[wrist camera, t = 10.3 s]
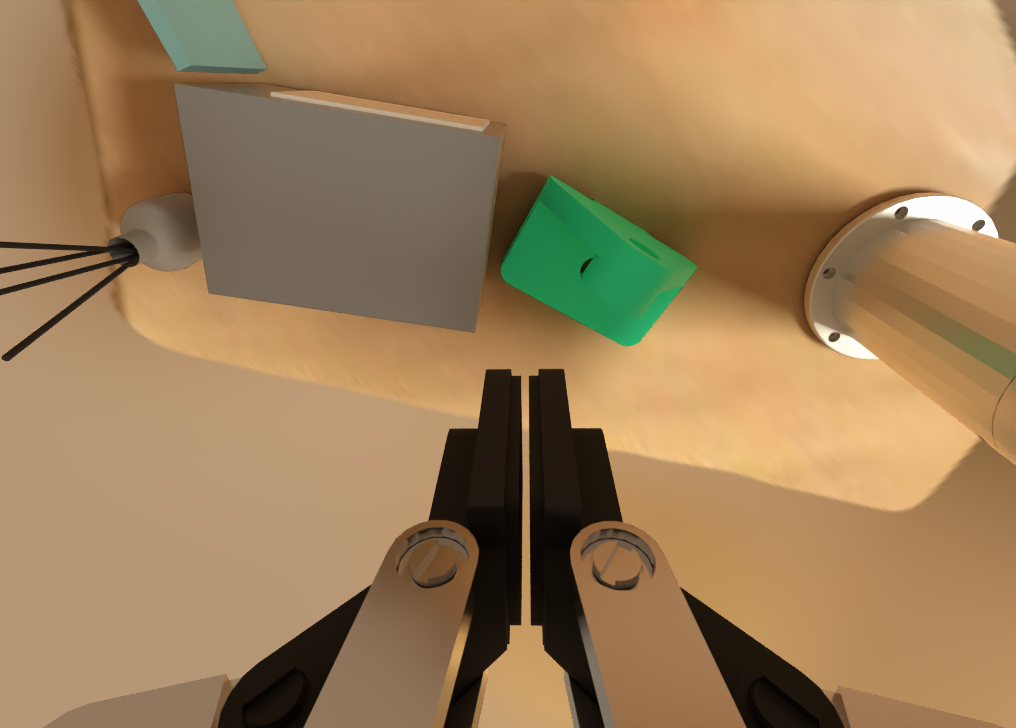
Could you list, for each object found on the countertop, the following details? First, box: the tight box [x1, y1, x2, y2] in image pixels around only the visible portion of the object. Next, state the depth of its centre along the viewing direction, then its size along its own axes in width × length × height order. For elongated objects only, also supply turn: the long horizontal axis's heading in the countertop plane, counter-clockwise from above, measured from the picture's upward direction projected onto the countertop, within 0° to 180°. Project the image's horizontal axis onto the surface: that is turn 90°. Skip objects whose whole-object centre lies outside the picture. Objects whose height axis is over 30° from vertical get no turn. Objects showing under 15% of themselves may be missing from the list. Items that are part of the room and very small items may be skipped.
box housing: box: [174, 83, 506, 333], centre depth 31 cm, size 16×11×9 cm
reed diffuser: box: [0, 193, 203, 361], centre depth 27 cm, size 10×7×20 cm
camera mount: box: [501, 175, 698, 346], centre depth 32 cm, size 12×8×10 cm, turn 61°
